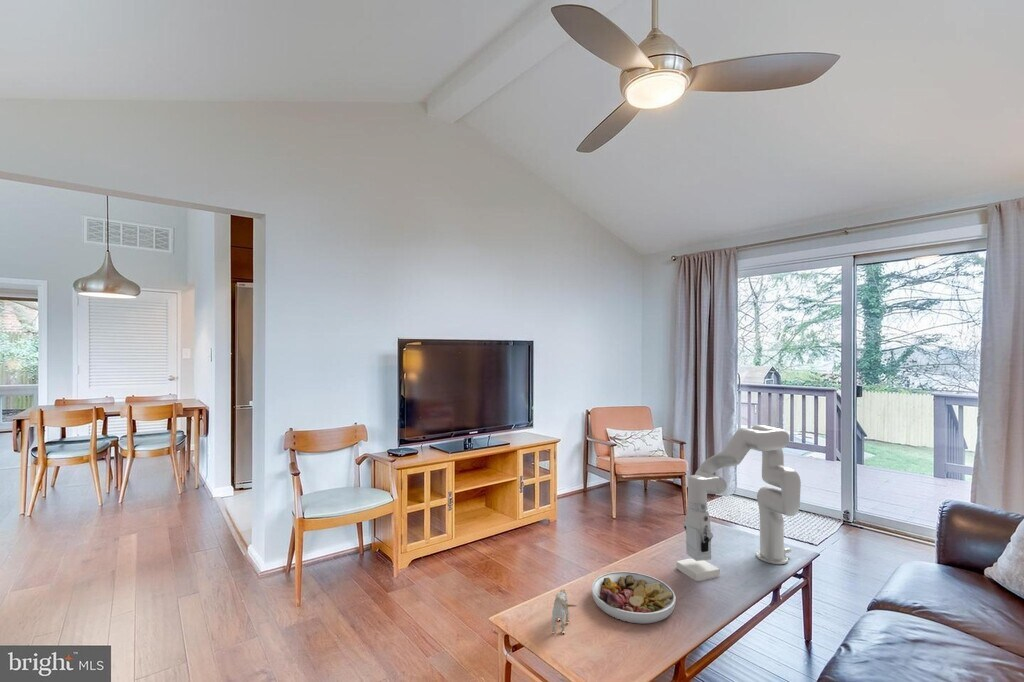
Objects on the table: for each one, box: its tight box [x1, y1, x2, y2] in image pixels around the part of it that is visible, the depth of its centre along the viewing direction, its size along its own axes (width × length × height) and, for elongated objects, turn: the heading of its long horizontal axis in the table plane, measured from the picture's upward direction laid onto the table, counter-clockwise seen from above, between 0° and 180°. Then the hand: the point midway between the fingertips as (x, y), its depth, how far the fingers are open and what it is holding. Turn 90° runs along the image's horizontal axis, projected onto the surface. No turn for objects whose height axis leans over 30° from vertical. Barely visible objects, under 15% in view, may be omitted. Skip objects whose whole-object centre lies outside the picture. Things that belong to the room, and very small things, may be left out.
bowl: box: [591, 570, 676, 624], centre depth 172 cm, size 30×30×8 cm
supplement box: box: [685, 525, 712, 561], centre depth 196 cm, size 7×7×13 cm
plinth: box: [675, 557, 721, 582], centre depth 196 cm, size 12×12×3 cm
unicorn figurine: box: [551, 588, 578, 633], centre depth 155 cm, size 7×20×13 cm, turn 2°
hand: (697, 547), depth 196 cm, fingers closed on supplement box, 7 cm apart
